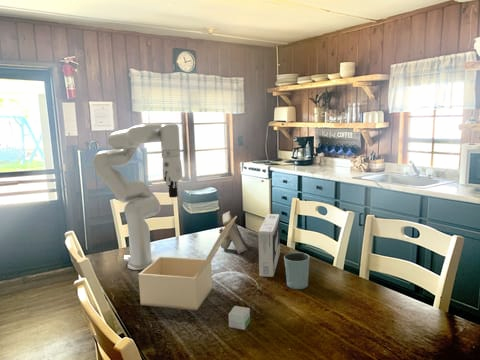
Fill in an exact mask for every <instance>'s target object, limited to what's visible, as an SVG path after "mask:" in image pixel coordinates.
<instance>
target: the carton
mask: <svg viewBox="0 0 480 360" xmlns="http://www.w3.org/2000/svg"><path fill="white" fill-rule="evenodd" d="M154 260H155V259H154ZM205 260H206V258H205V259H203V258H189V257H171V256H159V257H158V258H157V259H156V260H155V261H154V262H153V263H152V264H150V265H149V266H148V267H147V268H146V269H142V270H141V272H139V273H138V274H137V275H138V286H139V300H140V306H147V307H148V306H149V307H159V308H167V309H177V310H178V309H179V310H188V311H198V310H199V308H200V307H201V305H202V304H203V303H204V301H205V300H206V298H207V296H208V295H209V294H210V292H211V291H212V289H213V272H212V270H213V269H212V261H211V262H210V263H209V264H208V265H207V267H206V268H205V269H204V270H203V271H202V272H201V274H200V275H199V276H198V277H197V278H195V277H196V276H197V274H198V272H199V270H200V269H201V267H202V265H203V263H204V262H205Z"/></svg>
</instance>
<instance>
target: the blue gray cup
mask: <svg viewBox="0 0 480 360" xmlns="http://www.w3.org/2000/svg"><path fill="white" fill-rule="evenodd" d="M310 258H311V256H310V255H309V254H307V253H304V252H299V251H293V252H288V253H286V254H285V255H283V261H284V267H285V276H286V277H285V278H286V280H285V281H286V286H287V287H289V288H290V289H294V290H303V289H306V288H308V285H309V274H310V273H309V272H310V269H309V268H310V261H311V259H310Z"/></svg>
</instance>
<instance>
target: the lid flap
mask: <svg viewBox="0 0 480 360" xmlns="http://www.w3.org/2000/svg"><path fill="white" fill-rule="evenodd" d="M237 217H238V216H237V215H235V216H234V217H233V219H232V220H231V222H230V223H229V224H228V225H227V226H226V227H225V226H224V227H223V228H222V229H223V230H222V232H221V233H219V236H218V237H217V239H216V241H215V242H214V244H213V246H212V248H211V249H210V251H209V253H208V255H207V257H206V258H205V259H206V260H205V262H204V263H203V265H202V267H201V269H200V270H199V272H198V274H197V276H196V277H195V278H197V277H198V276H199V275H200V274H201V272H202V271H203V270H204V269H205V268H206V267H207V265H208V264H209V263H210V262H211V263H212V261H213V259H214V257H215V256H216V254H217V252H218V250H220V248H221V244H222V242H223V240H224V238H225V237H226V235H227V233H228V231H229V230H230V228H231V226H232V225H233V223H234V221H235V222H236V219H237Z"/></svg>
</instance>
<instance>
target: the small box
mask: <svg viewBox="0 0 480 360" xmlns="http://www.w3.org/2000/svg"><path fill="white" fill-rule="evenodd" d="M250 312H251V308H250V307H245V306H240V305H239V306H238V305H234V306H233V307H232V309H231V311H229V313H228V327H229V328H232V329H233V328H234V329H238V330H243V331H244V330H246V328H247V327H248V325H249V323H250V321H251V313H250Z"/></svg>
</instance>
